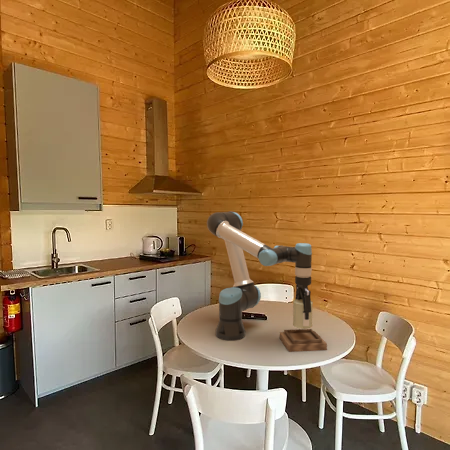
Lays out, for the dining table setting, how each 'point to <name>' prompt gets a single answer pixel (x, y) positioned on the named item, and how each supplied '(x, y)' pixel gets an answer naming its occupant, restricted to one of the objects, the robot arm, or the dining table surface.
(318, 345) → the stand
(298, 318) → the can
